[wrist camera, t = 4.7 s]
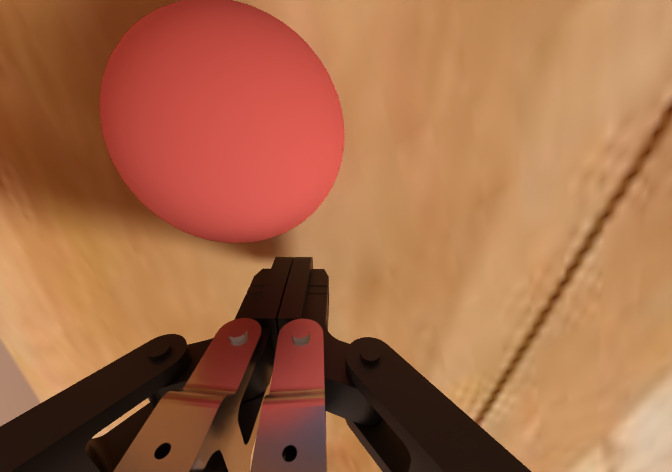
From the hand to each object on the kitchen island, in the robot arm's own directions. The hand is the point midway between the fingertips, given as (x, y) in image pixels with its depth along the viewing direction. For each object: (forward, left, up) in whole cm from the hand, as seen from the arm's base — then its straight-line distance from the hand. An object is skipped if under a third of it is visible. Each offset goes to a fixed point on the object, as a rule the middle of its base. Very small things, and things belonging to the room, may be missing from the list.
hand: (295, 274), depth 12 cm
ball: (-1, -6, +2) cm, 6 cm away
